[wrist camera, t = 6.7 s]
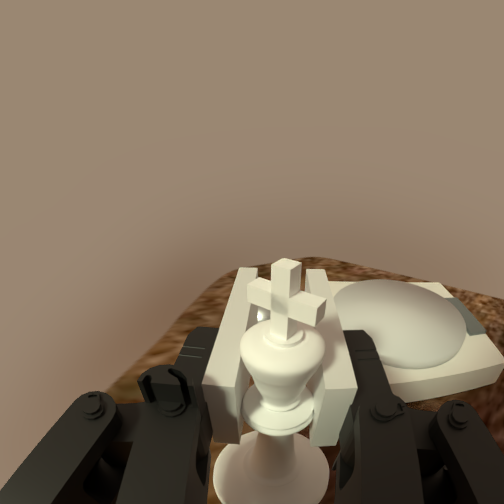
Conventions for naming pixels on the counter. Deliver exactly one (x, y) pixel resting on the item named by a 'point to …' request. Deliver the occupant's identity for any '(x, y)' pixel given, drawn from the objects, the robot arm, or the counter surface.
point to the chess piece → (278, 399)
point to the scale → (419, 336)
